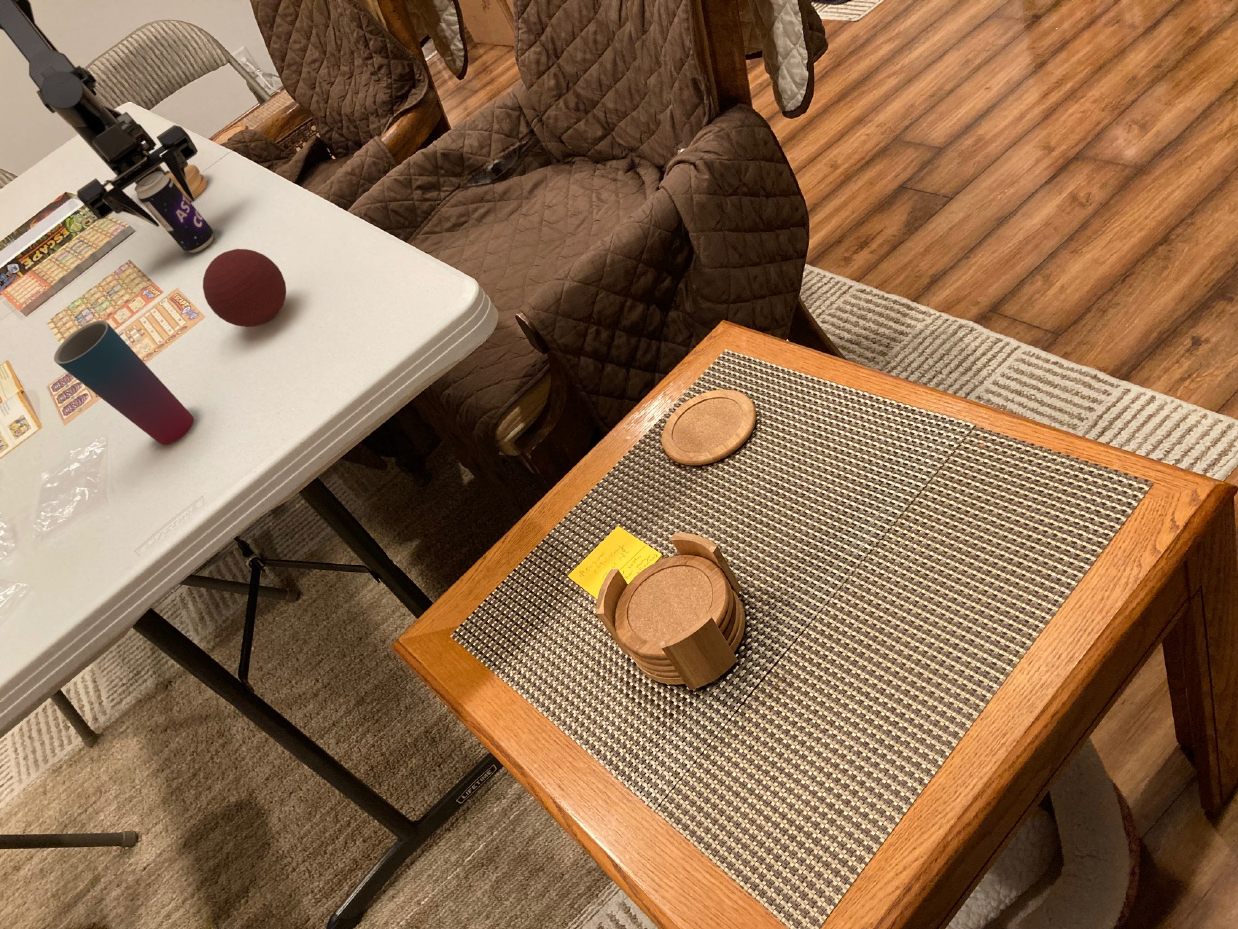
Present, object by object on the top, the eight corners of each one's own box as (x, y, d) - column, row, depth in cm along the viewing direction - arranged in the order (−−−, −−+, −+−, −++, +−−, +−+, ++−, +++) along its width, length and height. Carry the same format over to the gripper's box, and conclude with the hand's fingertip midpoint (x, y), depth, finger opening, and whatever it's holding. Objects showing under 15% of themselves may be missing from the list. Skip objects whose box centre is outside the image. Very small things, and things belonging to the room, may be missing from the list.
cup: (160, 418, 109) (66, 332, 99) (205, 401, 108) (115, 312, 98) (145, 457, 105) (44, 371, 94) (192, 440, 103) (96, 350, 93)
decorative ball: (231, 353, 114) (178, 295, 107) (241, 309, 121) (192, 252, 114) (298, 324, 112) (249, 263, 105) (304, 281, 119) (258, 222, 112)
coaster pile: (157, 201, 161) (145, 187, 159) (203, 172, 162) (192, 158, 160) (162, 219, 154) (150, 205, 152) (211, 189, 155) (199, 174, 153)
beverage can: (207, 251, 138) (152, 188, 129) (180, 258, 140) (125, 195, 131) (223, 229, 141) (170, 166, 133) (197, 236, 143) (144, 174, 135)
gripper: (30, 146, 125) (104, 227, 125) (139, 74, 129) (211, 152, 129) (63, 181, 135) (132, 255, 136) (163, 114, 140) (229, 186, 140)
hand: (175, 212), depth 135 cm, fingers open, 6 cm apart
